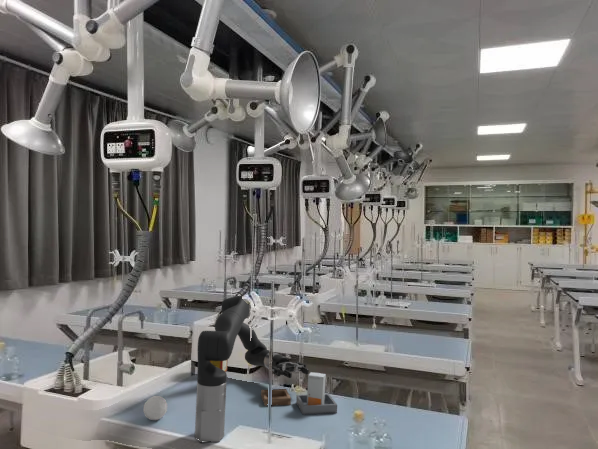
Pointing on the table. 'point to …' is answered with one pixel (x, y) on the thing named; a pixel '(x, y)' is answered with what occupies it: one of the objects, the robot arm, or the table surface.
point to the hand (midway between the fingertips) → (299, 373)
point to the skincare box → (316, 389)
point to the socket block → (277, 397)
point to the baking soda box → (220, 364)
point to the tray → (328, 405)
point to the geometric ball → (155, 408)
